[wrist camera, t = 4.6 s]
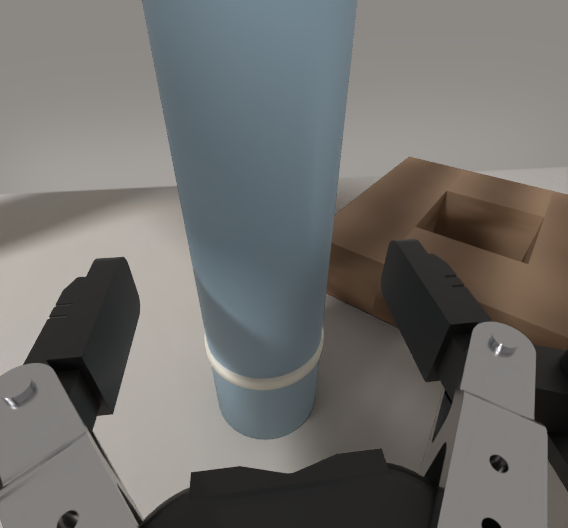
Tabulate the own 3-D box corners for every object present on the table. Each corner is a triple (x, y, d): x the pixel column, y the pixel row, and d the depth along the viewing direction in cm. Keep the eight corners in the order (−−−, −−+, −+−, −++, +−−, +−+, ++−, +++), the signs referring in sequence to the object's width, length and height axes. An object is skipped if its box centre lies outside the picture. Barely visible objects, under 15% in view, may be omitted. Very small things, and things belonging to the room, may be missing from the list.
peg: (194, 400, 17) (85, -16, 8) (260, 337, 21) (243, -15, 11) (275, 465, 15) (267, -14, 5) (335, 383, 18) (400, -14, 8)
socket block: (306, 283, 24) (309, 234, 22) (399, 197, 34) (409, 156, 32) (589, 419, 17) (642, 367, 14) (601, 257, 27) (634, 210, 24)
